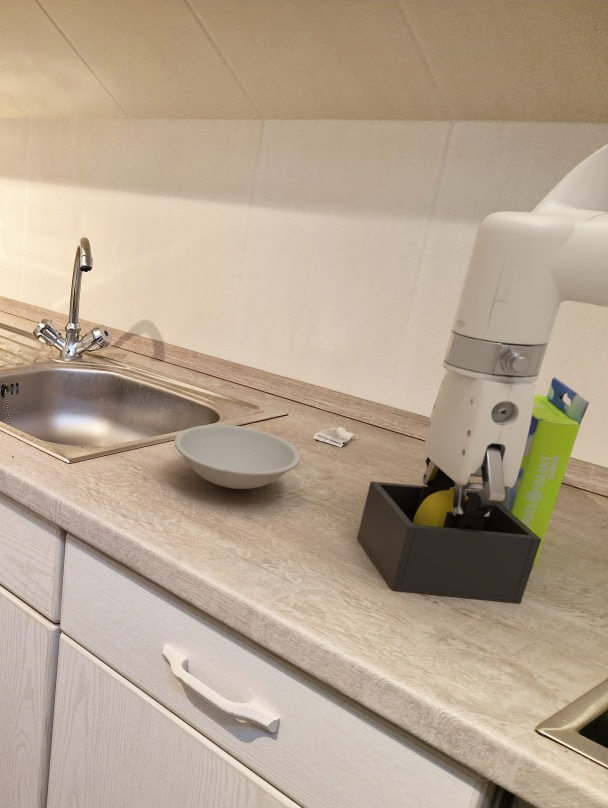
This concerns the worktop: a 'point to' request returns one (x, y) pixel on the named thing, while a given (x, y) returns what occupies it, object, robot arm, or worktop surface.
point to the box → (545, 457)
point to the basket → (445, 549)
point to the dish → (236, 455)
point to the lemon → (435, 508)
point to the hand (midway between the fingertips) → (442, 536)
